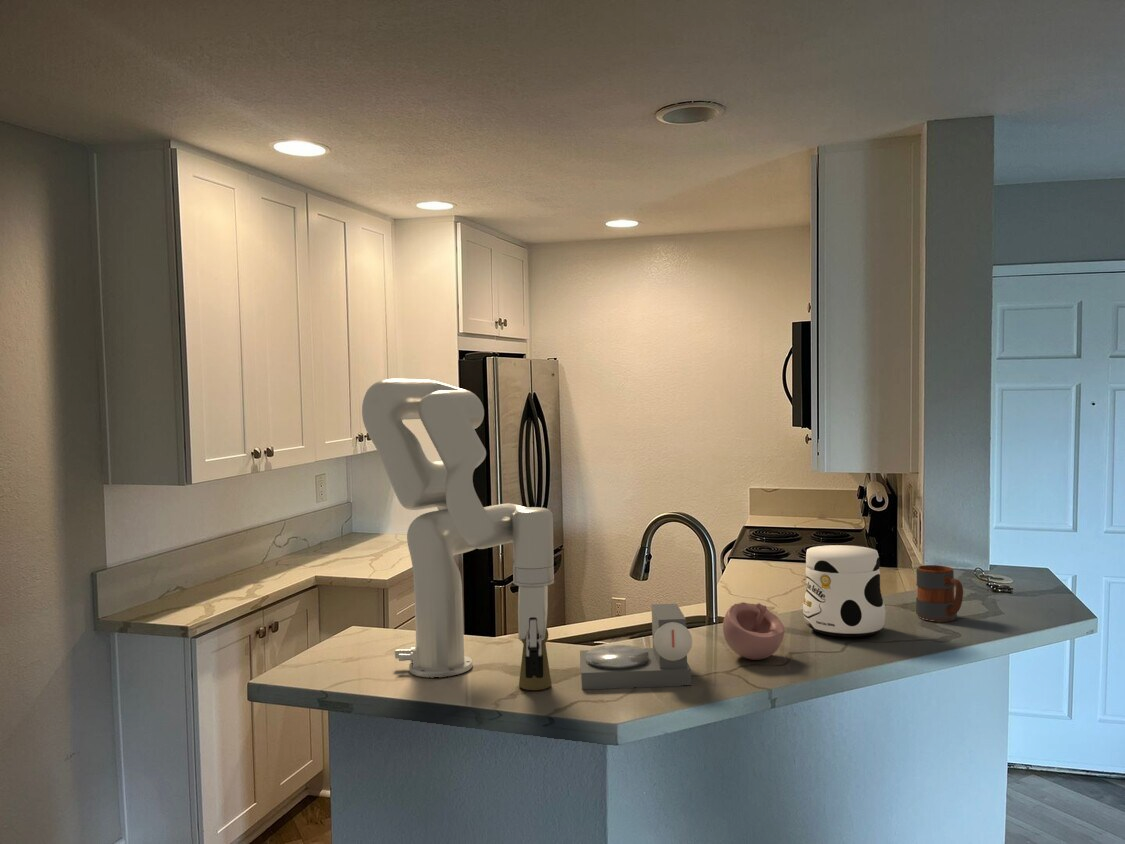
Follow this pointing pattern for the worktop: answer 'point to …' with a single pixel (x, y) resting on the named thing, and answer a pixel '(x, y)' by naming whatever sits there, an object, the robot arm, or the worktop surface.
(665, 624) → the scale
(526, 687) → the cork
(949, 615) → the mug
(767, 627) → the mortar and pestle
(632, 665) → the scale pan
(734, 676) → the worktop surface
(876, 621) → the milk container
